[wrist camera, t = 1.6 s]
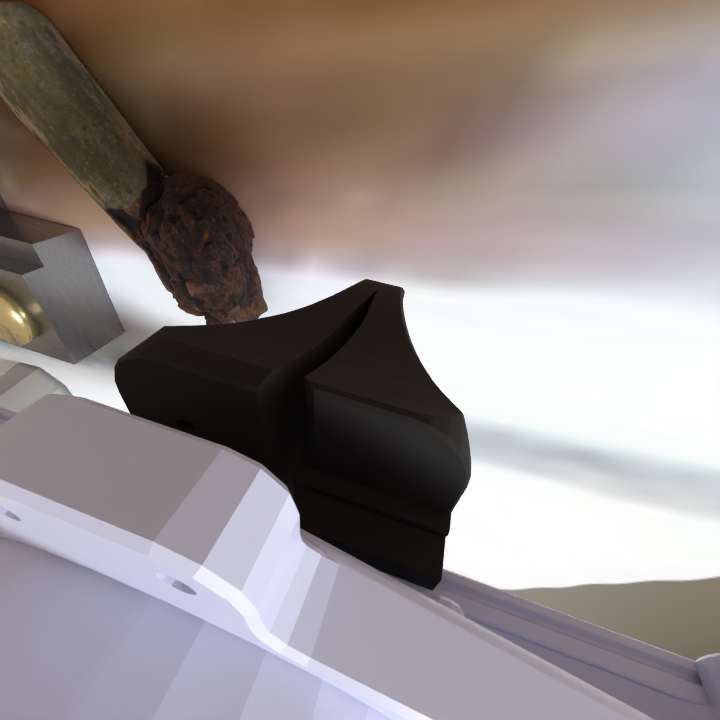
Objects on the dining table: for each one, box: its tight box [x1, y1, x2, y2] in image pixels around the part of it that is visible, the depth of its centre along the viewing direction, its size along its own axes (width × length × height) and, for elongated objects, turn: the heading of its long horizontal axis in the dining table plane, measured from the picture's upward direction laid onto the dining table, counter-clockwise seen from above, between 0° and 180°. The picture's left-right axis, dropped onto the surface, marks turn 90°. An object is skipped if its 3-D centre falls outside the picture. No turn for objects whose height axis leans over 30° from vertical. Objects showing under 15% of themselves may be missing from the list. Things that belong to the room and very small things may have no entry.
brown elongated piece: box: [0, 1, 268, 325], centre depth 19 cm, size 18×7×6 cm, turn 37°
